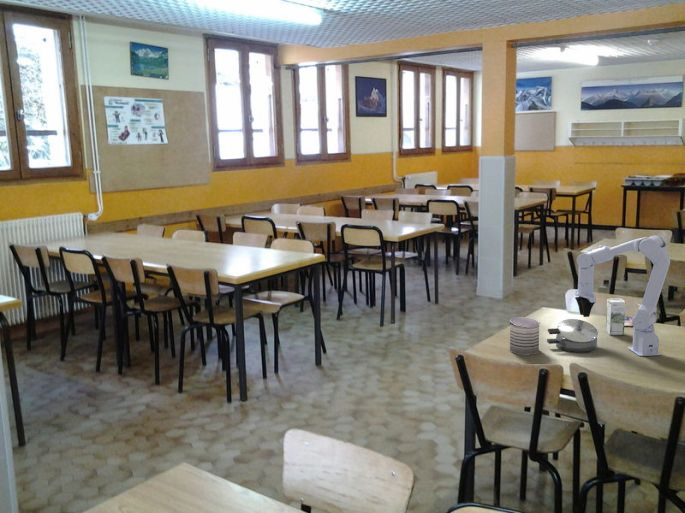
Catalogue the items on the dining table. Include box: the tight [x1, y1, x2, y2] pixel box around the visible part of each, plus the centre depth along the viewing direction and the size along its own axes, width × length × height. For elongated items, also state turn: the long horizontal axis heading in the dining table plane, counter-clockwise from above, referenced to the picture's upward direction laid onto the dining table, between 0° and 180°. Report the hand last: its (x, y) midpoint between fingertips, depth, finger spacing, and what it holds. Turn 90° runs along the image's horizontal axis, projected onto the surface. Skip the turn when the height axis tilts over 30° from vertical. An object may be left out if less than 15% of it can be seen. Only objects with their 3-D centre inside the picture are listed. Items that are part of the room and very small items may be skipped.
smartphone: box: [624, 316, 634, 328], centre depth 285 cm, size 7×1×15 cm
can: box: [508, 316, 541, 356], centre depth 252 cm, size 11×11×12 cm
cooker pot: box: [546, 334, 598, 354], centre depth 254 cm, size 15×19×4 cm
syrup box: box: [605, 298, 626, 336], centre depth 268 cm, size 6×6×14 cm
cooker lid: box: [547, 318, 599, 343], centre depth 253 cm, size 15×19×1 cm
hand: (584, 315), depth 260 cm, fingers open, 2 cm apart
